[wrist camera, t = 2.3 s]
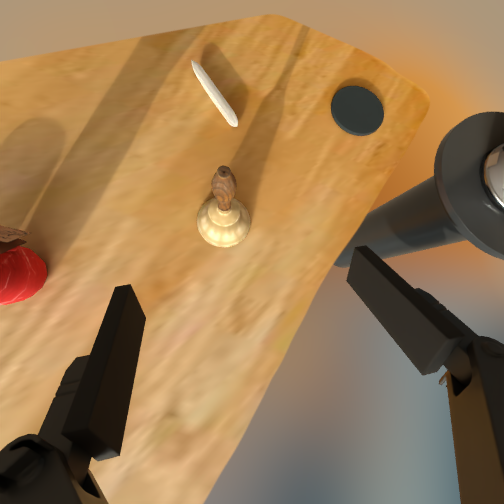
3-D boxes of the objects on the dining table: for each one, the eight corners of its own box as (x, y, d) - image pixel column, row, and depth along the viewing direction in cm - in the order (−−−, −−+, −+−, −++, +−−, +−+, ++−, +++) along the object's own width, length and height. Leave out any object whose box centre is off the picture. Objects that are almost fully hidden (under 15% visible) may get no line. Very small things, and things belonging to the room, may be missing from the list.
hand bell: (257, 238, 37) (281, 197, 22) (206, 254, 36) (193, 223, 20) (240, 190, 39) (251, 119, 23) (190, 205, 37) (165, 139, 22)
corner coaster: (381, 93, 45) (383, 90, 45) (382, 139, 44) (384, 137, 43) (331, 84, 44) (332, 81, 44) (330, 131, 43) (331, 129, 42)
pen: (196, 65, 42) (195, 55, 40) (240, 127, 41) (241, 120, 39) (188, 68, 42) (186, 59, 40) (232, 131, 40) (233, 124, 39)
